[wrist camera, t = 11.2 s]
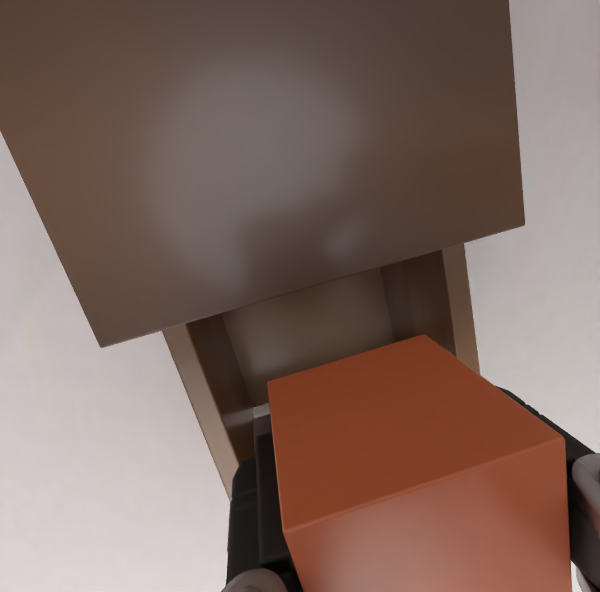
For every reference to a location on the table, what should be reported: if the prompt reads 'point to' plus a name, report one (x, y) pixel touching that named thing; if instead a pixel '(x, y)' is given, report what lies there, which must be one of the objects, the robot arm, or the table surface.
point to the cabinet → (254, 143)
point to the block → (417, 478)
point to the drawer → (314, 341)
